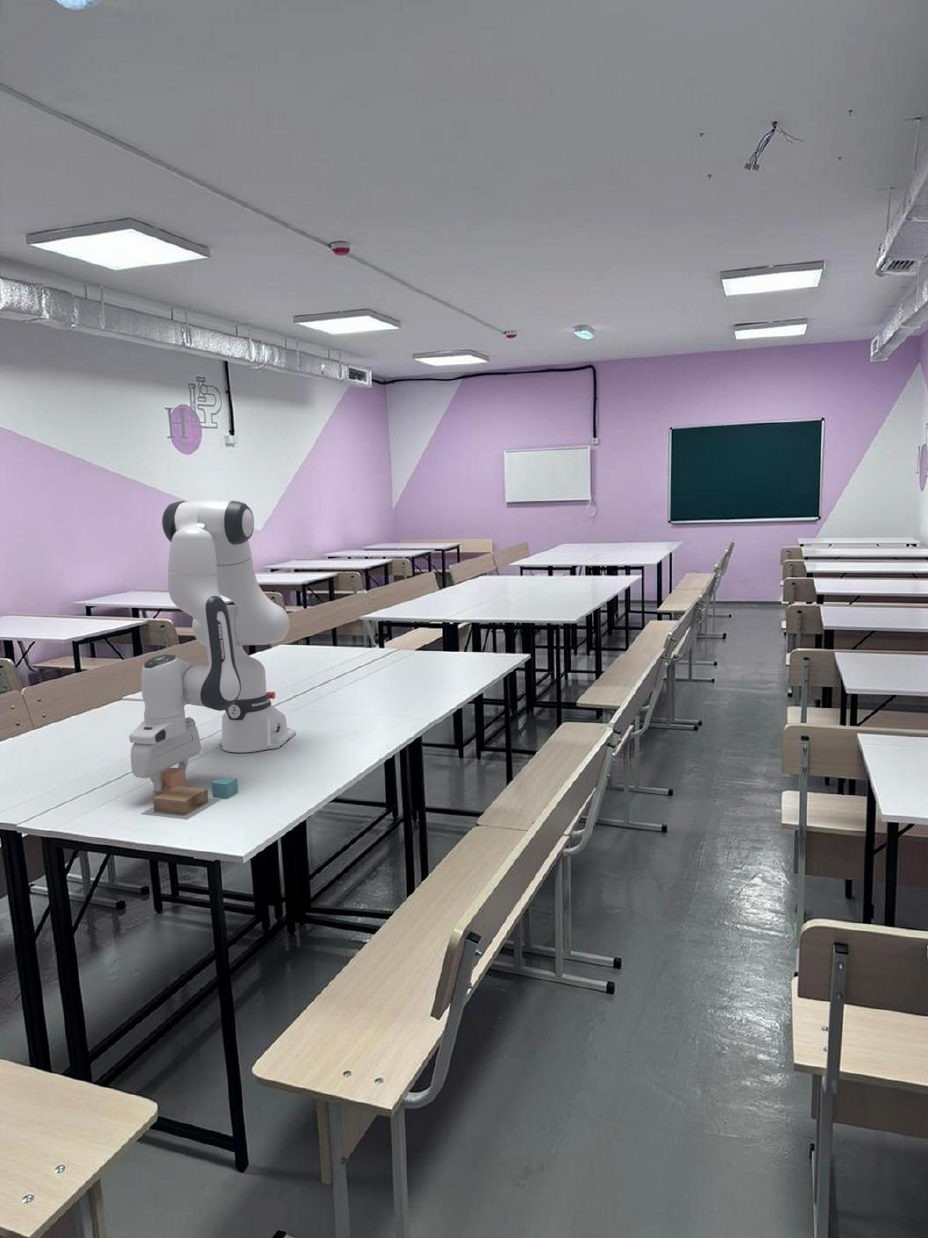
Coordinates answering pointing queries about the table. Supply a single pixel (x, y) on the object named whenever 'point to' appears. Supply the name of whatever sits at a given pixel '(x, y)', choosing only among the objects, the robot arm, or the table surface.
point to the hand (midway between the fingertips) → (170, 784)
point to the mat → (179, 816)
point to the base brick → (180, 800)
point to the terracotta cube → (172, 778)
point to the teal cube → (224, 787)
